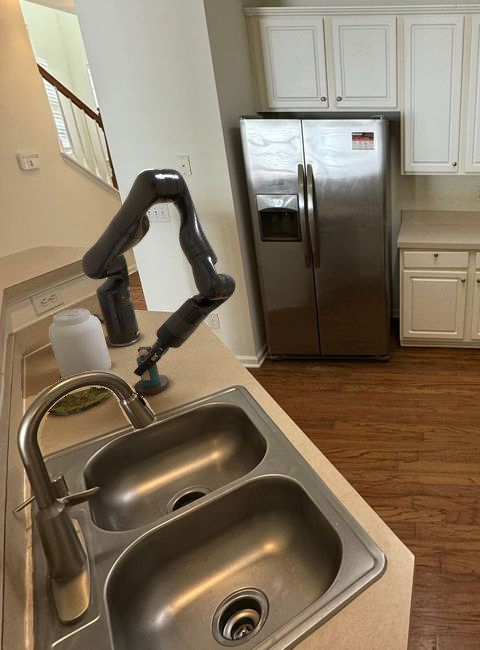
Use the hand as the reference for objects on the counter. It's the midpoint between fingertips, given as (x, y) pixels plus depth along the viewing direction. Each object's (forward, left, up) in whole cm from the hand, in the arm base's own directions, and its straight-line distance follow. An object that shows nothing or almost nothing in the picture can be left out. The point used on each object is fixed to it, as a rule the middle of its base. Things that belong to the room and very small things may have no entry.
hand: (141, 368), depth 122 cm
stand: (+1, +1, -7) cm, 7 cm away
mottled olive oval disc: (-5, -15, -7) cm, 17 cm away
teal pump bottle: (+1, +1, -5) cm, 5 cm away
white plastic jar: (-21, -10, -7) cm, 24 cm away
